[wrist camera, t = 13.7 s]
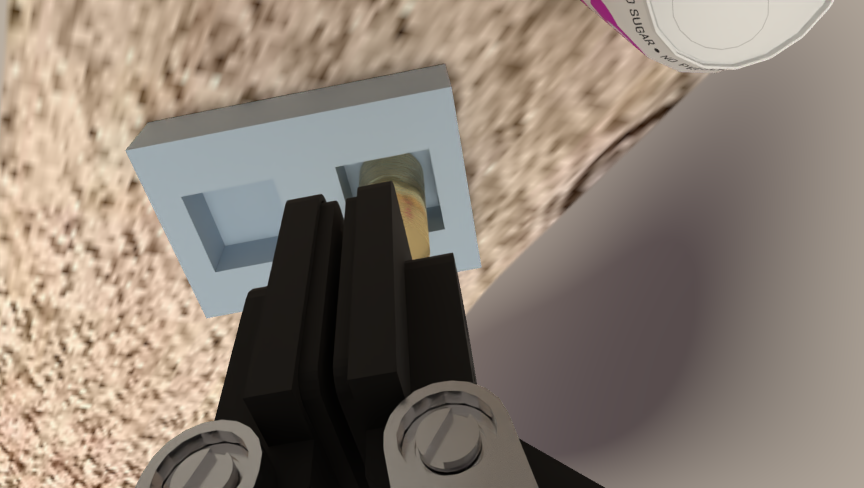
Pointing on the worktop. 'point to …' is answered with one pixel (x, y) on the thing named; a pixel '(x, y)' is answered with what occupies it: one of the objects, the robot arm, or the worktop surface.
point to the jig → (296, 173)
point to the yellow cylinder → (404, 195)
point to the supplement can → (710, 29)
